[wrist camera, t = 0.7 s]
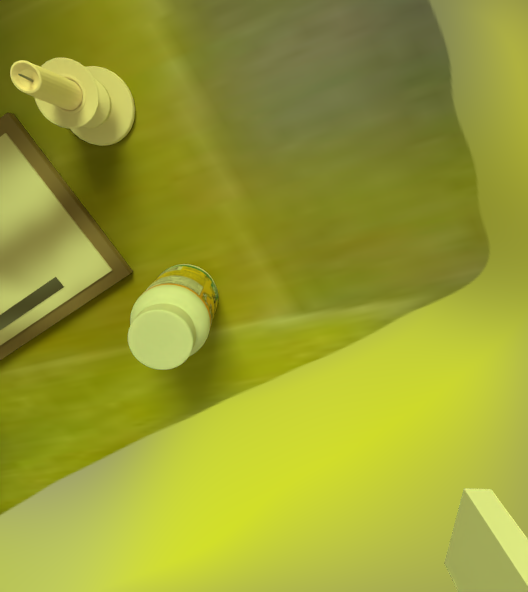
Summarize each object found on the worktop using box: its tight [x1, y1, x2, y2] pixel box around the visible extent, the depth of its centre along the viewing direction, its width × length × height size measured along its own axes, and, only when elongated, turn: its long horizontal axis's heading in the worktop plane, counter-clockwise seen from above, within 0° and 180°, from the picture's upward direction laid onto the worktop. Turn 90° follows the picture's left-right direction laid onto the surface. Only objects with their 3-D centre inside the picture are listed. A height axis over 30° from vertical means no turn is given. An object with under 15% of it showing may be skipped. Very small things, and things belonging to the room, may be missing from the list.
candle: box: [10, 57, 135, 146], centre depth 24 cm, size 5×5×10 cm
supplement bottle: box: [128, 264, 218, 370], centre depth 29 cm, size 5×5×10 cm
